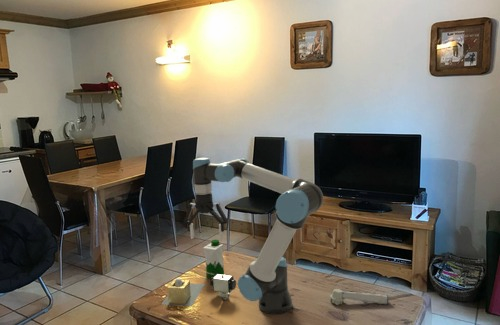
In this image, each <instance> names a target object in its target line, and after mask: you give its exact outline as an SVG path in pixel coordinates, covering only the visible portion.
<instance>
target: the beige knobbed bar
mask: <svg viewBox="0 0 500 325" xmlns="http://www.w3.org/2000/svg"><path fill="white" fill-rule="evenodd" d="M329 298H330V303H331V304H335V305H337V306H339V305H342V304H344V301H345V299H346V300H353V301H358V302H359V301H360V302H367V303H373V304H378V305H389V295H387V294H381V293H370V292H369V293H368V292H355V291H347V290H346V291H345V290H344V291H343V290H342V289H339V288H338V289H337V288H334V289H333V290H332V294H330V295H329Z"/></svg>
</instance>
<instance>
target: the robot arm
mask: <svg viewBox="0 0 500 325" xmlns="http://www.w3.org/2000/svg"><path fill="white" fill-rule="evenodd" d="M192 160H193V161H192V171H193V184H194V193H195V194H194V195H195V196H194V197H195V203H194V202H190V203H189V204H188V210H187V212H186V214H185V217H184V219H183V224H184V225H187V231H188V232H189V233H190V235H189V236H190V239H191V240H193V239H194V238H195V230H194V223H193V221H194V220H195V218H196V217H197V216H198V215H199V213H200V214H210V215H211V216H212V217H213V218H214V219H215V220H216V221H217V222H218V223H219V224H218V230H219V240H222V239H223V238H224V235H223V234H224V231H225V230H226V229H225V225H226V224H228V222H229V220H228V218H227V216H226V214H225V212H224V211H223V209H222V208H221V203H220V202H217V203H216V202H215V203H214V201H213V192H212V190H213V189H212V186H213V185H212V182H220V183H229V182H231V181H232V180H233V179H234V178H239V179H242V180H245V181H248V182H250V183H253V184H255V185H257V186H261V187H263V188H266V189H269V190H271V191H273V192H277V193H279V194H280V195H279V196H278V198H277V199H276V202H275V210H276V212H275V214H274V215H275V218H276V220H275V222H274V225H273V226H272V228H271V230H270V232H269V234H268V237H267V238H266V241H265V242H264V244H263V247H262V248H261V250H260V252H259V254H258V257H257V258H256V260H253V261H252V262H251V263H250V264H249V266H248V267H247V270H246V272H245V273H244V274H241V276H240V277H239V278H238V281H237V287H238V290H239V293H240V294H241V295H242V297H243V298H245V299H246V301H249V302H257V301H258V308H259V309H260V311H262V312H263V313H266V314H271V315H280V314H284V313H286V312H289V311H290V310H291V309H292V307H293V300H292V296H291V295H290V291H289V290H288V289H289V288H288V287H289V286H288V265H287V264H288V263H287V259H286V258H285V257H284V254H285V253H286V250H287V248H288V247H289V245H290V244H291V241H292V239H293V238H294V236H295V235H296V234H295V233H296V232H297V230H301V229H302V228H303V227H304V225H305V223H306V221H307V219H308V217H309V216H310V215H312V214H314V213H316V212H318V211H319V210H320V208H321V207H322V205H323V204H324V193H323V192H322V190H321V188H320V187H319V186H318V185H316V184H315V183H313V182H311V181H307V180H305V179H302V178H297V179H295V178H292V177H289V176H286V175H283V174H281V173H278V172H275V171H272V170H269V169H266V168H264V167H260V166H257V165H254V164H252V163H250V162H249V160H247V159H246V158H236V159H233V160H229V161H225V162H224V161H223V162H221V163H211V161H210V160H211V159H210V158H209V157H199V158H198V157H197V158H195V159H192ZM194 208H196V211H195V213H194V214H193V215H192V217H190V216H191V214H192V211H193V210H194ZM213 208H215V209H216V211H217V212H216V211H215V209H213Z"/></svg>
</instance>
